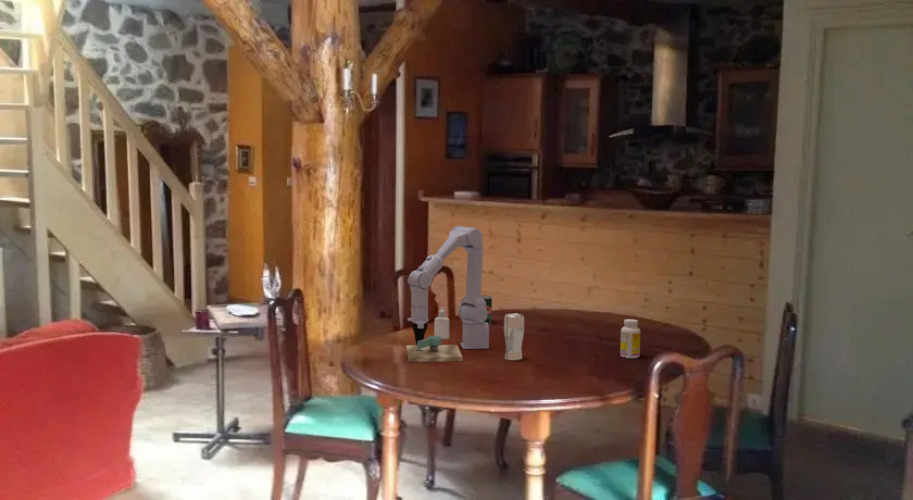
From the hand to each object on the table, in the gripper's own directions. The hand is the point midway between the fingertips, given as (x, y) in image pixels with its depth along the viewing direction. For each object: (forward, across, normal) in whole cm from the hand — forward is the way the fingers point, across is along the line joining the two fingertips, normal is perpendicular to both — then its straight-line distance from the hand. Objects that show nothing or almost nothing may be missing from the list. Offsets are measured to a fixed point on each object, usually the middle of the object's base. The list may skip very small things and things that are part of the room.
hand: (419, 344), depth 299 cm
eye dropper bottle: (+5, -29, +10) cm, 31 cm away
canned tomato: (+5, -57, +29) cm, 64 cm away
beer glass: (+5, +3, +32) cm, 33 cm away
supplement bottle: (+4, +3, +73) cm, 73 cm away
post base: (+4, -3, +5) cm, 7 cm away
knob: (+1, -1, +3) cm, 3 cm away
